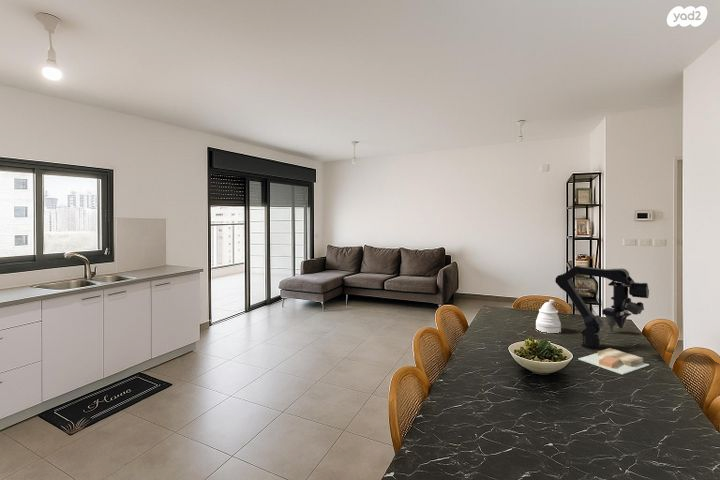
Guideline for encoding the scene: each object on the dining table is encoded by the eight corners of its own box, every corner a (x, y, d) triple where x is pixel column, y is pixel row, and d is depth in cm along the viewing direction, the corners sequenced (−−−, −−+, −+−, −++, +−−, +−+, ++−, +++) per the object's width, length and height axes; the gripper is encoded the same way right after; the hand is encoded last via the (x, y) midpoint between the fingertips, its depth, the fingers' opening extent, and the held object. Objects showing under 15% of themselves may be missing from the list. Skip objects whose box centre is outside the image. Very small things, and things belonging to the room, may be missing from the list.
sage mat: (578, 359, 166) (578, 358, 166) (604, 351, 174) (604, 350, 174) (622, 374, 149) (622, 373, 149) (649, 365, 157) (649, 364, 157)
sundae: (621, 334, 197) (621, 307, 196) (607, 334, 198) (607, 307, 197) (615, 330, 203) (615, 304, 202) (601, 330, 205) (601, 304, 204)
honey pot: (561, 328, 211) (561, 298, 210) (560, 335, 200) (559, 303, 199) (537, 326, 218) (536, 296, 217) (534, 332, 207) (534, 301, 206)
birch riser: (597, 356, 168) (597, 351, 168) (609, 353, 172) (609, 348, 172) (630, 367, 155) (630, 361, 155) (642, 363, 159) (642, 357, 159)
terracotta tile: (598, 364, 159) (598, 360, 159) (607, 360, 163) (607, 355, 163) (611, 368, 155) (611, 363, 154) (620, 363, 159) (620, 359, 159)
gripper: (627, 301, 159) (627, 336, 160) (651, 296, 167) (651, 329, 168) (601, 296, 169) (601, 329, 170) (625, 292, 177) (625, 323, 178)
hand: (620, 327), depth 171 cm, fingers closed
